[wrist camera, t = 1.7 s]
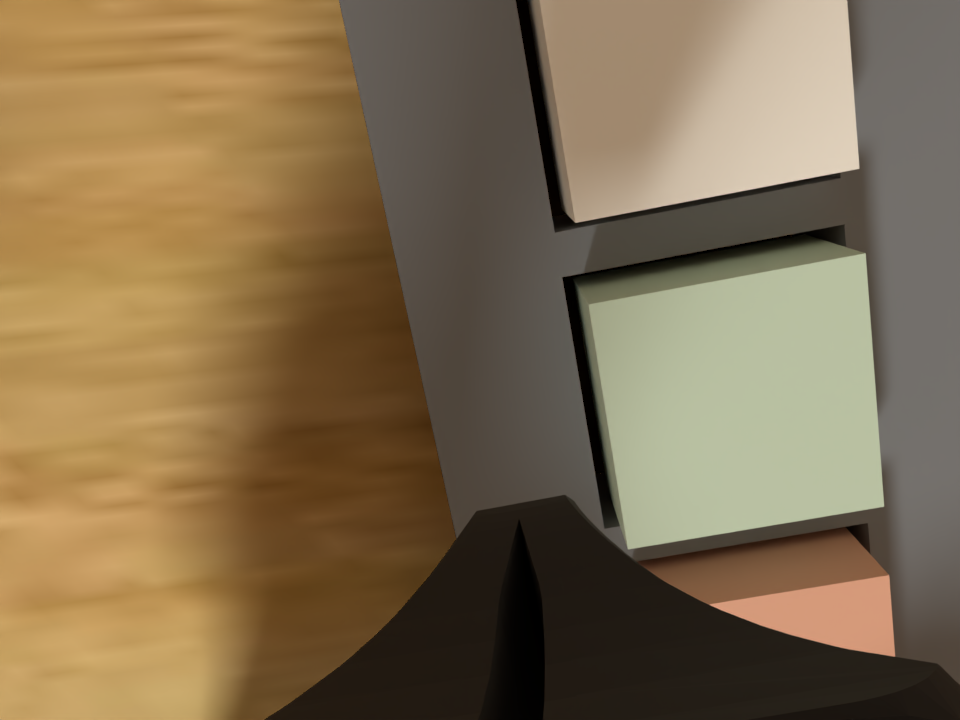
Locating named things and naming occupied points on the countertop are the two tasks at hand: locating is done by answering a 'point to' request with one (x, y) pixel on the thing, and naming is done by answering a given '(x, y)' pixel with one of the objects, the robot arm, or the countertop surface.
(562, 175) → the cream button
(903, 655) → the panel
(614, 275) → the sage button
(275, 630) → the countertop surface
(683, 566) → the terracotta button
